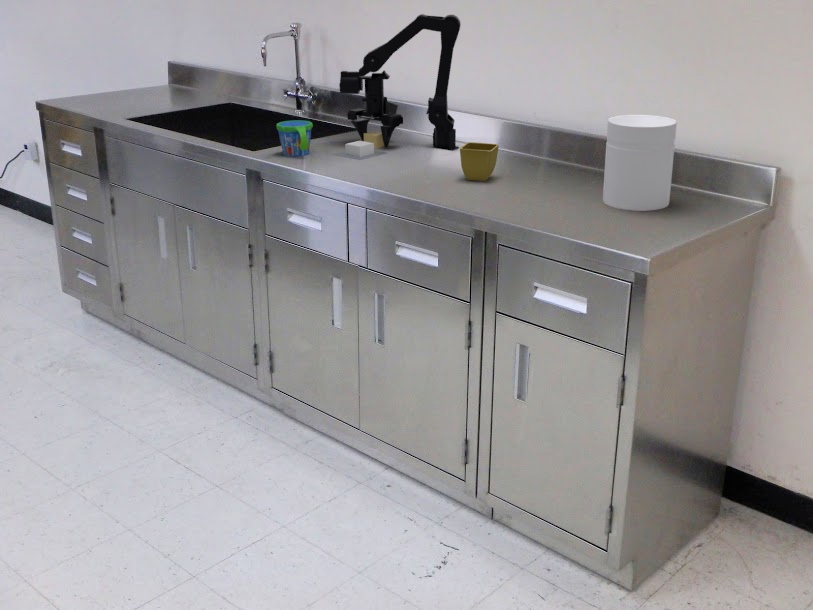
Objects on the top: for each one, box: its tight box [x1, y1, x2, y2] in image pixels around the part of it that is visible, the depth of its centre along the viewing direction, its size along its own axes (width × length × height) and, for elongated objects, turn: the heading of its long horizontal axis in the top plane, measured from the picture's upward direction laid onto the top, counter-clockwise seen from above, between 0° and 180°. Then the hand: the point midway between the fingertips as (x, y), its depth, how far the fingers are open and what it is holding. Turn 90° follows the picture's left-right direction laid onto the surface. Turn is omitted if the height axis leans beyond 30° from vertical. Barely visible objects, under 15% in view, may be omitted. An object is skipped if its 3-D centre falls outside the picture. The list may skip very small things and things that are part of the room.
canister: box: [602, 114, 678, 212], centre depth 229 cm, size 16×16×20 cm
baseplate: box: [331, 149, 387, 161], centre depth 283 cm, size 12×12×1 cm
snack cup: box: [276, 119, 314, 158], centre depth 282 cm, size 16×10×10 cm
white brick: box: [344, 140, 375, 157], centre depth 282 cm, size 6×6×3 cm
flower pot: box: [459, 141, 500, 182], centre depth 255 cm, size 9×9×9 cm
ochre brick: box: [364, 130, 384, 149], centre depth 292 cm, size 5×5×5 cm
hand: (375, 145), depth 293 cm, fingers open, 9 cm apart
